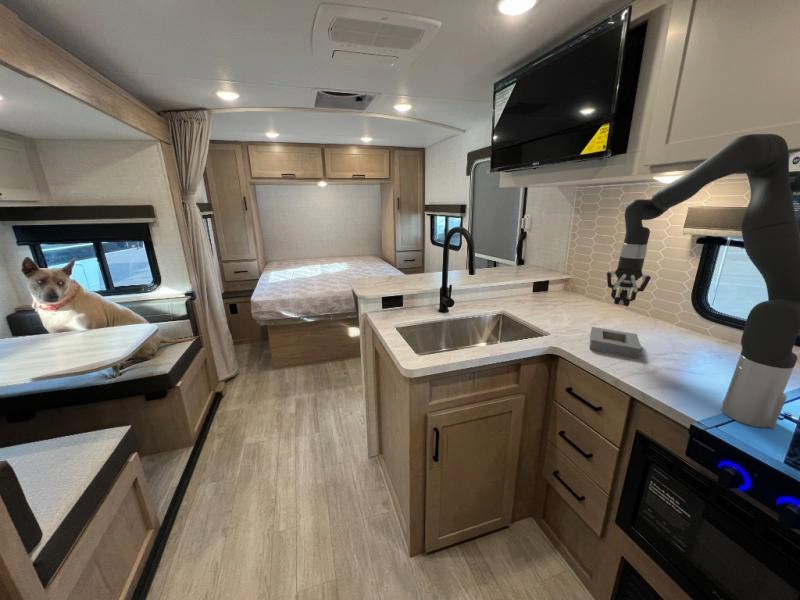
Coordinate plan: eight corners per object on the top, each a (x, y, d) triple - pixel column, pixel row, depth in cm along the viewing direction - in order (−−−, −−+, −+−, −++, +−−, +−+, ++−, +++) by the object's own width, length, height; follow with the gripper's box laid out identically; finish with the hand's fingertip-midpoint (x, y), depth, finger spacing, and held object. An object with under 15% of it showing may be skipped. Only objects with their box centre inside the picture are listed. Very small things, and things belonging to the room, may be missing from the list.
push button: (607, 303, 123) (613, 279, 120) (611, 300, 127) (616, 276, 124) (628, 307, 119) (634, 282, 116) (631, 304, 123) (637, 279, 119)
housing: (634, 343, 131) (636, 334, 130) (639, 358, 118) (641, 349, 116) (590, 335, 139) (591, 326, 137) (589, 349, 125) (591, 339, 124)
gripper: (609, 255, 117) (600, 299, 122) (658, 259, 110) (646, 305, 115) (609, 252, 123) (600, 294, 128) (655, 256, 116) (643, 300, 122)
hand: (622, 299), depth 122 cm, fingers closed on push button, 5 cm apart
